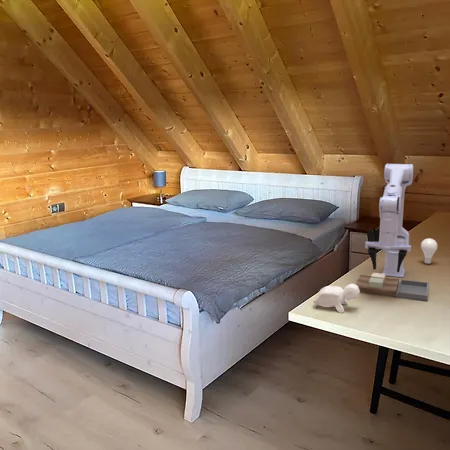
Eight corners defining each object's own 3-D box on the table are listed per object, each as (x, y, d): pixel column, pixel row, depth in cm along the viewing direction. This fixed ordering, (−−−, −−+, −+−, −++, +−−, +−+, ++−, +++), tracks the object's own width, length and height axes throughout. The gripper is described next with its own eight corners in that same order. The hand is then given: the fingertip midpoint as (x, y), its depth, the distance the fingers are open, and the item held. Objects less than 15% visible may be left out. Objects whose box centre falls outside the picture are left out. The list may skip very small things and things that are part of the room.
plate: (360, 279, 183) (360, 274, 183) (398, 284, 178) (399, 279, 177) (354, 292, 171) (354, 286, 170) (395, 297, 165) (395, 291, 165)
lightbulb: (426, 266, 197) (428, 241, 194) (416, 262, 203) (418, 237, 200) (439, 265, 198) (441, 239, 196) (429, 261, 204) (431, 236, 202)
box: (399, 284, 177) (399, 279, 177) (428, 287, 173) (428, 282, 173) (395, 297, 165) (396, 291, 165) (427, 301, 161) (427, 295, 161)
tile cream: (372, 277, 179) (373, 272, 179) (385, 279, 177) (385, 274, 177) (371, 281, 175) (371, 276, 175) (383, 283, 173) (384, 277, 173)
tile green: (370, 282, 174) (370, 277, 174) (383, 284, 172) (383, 279, 172) (368, 286, 170) (369, 281, 170) (381, 288, 168) (382, 283, 168)
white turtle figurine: (317, 318, 157) (362, 308, 150) (308, 294, 156) (353, 283, 149) (323, 309, 164) (366, 299, 158) (315, 286, 164) (357, 275, 157)
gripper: (364, 232, 159) (362, 271, 162) (410, 235, 153) (408, 276, 156) (367, 227, 165) (365, 265, 168) (412, 231, 159) (409, 269, 163)
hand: (386, 270), depth 163 cm, fingers open, 7 cm apart
